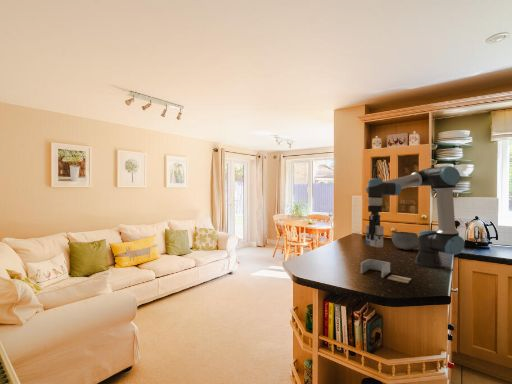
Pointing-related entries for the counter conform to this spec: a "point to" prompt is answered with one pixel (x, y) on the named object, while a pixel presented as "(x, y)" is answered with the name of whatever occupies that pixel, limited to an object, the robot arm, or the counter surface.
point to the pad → (399, 278)
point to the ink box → (378, 236)
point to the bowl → (405, 240)
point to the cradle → (376, 266)
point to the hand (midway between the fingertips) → (374, 244)
